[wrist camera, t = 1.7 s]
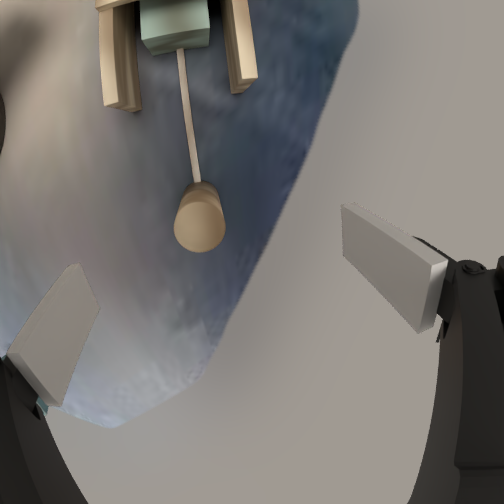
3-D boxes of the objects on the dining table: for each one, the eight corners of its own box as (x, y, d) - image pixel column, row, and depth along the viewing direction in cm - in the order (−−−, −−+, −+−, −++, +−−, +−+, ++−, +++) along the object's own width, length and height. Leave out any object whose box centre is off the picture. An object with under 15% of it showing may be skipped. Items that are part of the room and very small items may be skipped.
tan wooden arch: (131, 112, 25) (99, 105, 16) (124, -25, 17) (102, -65, 8) (242, 92, 27) (260, 75, 18) (224, -42, 18) (234, -88, 9)
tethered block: (177, 220, 31) (167, 258, 22) (149, 12, 21) (130, -29, 12) (230, 211, 32) (241, 245, 23) (203, 2, 21) (205, -42, 12)
